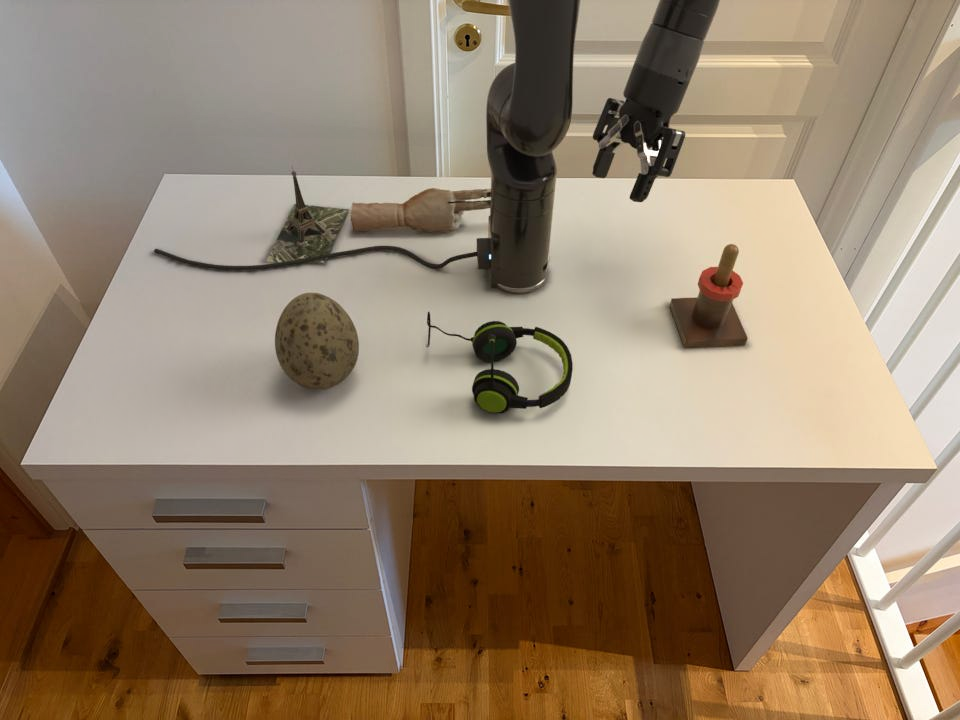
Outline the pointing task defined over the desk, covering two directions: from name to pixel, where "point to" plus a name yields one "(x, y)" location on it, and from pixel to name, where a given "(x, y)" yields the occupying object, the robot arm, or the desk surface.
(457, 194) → the mannequin hand
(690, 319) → the ring stand
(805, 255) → the desk surface
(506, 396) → the headphones
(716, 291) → the ring
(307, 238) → the eiffel tower figurine
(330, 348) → the decorative egg
